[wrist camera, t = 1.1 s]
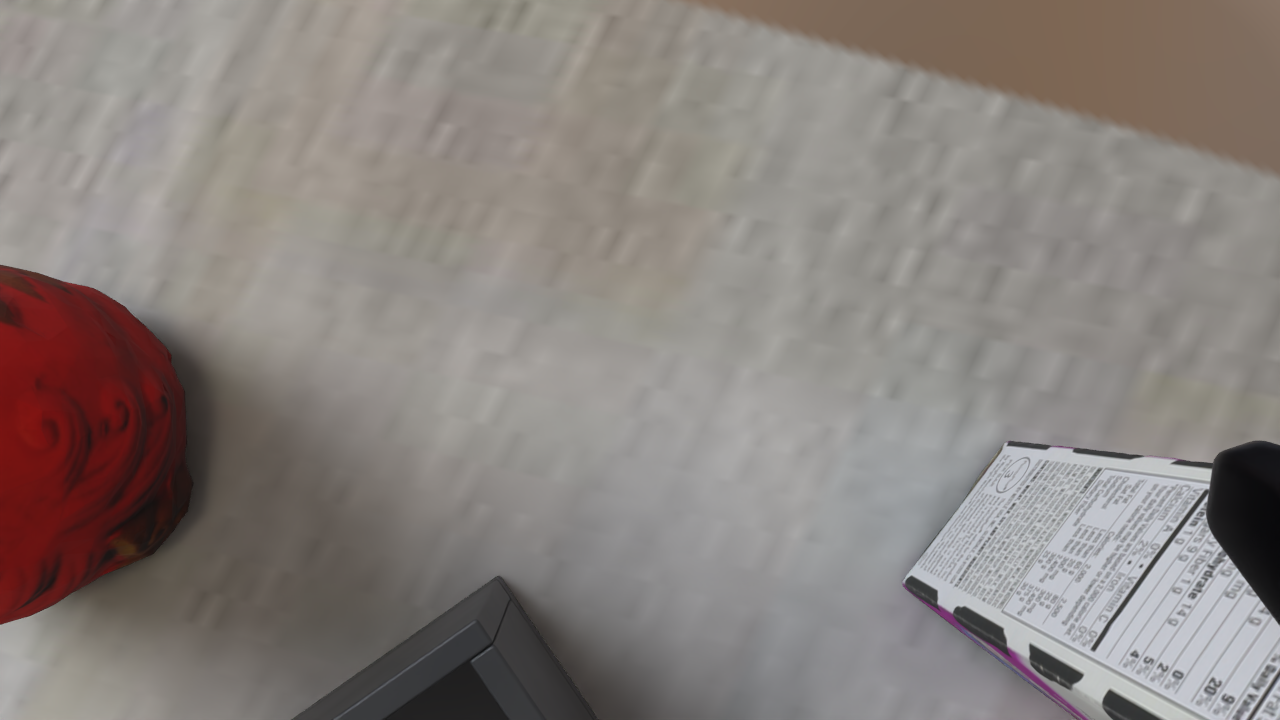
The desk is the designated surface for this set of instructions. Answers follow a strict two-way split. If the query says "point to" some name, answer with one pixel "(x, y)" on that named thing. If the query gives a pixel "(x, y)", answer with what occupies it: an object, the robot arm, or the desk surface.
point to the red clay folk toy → (81, 440)
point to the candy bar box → (1104, 587)
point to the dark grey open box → (462, 671)
